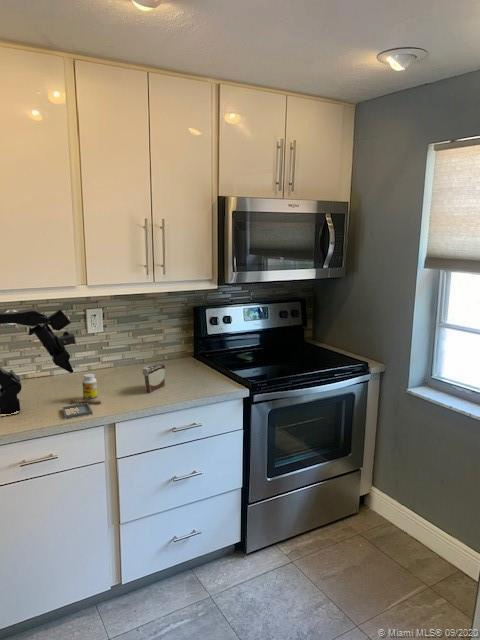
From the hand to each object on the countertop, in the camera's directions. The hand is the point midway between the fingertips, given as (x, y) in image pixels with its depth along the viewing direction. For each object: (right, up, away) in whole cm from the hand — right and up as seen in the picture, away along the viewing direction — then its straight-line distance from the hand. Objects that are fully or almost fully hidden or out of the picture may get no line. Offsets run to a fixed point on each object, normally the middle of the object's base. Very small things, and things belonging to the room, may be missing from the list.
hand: (70, 369), depth 185 cm
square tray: (+5, -16, -7) cm, 18 cm away
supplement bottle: (+6, -13, +6) cm, 16 cm away
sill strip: (+6, -14, +1) cm, 15 cm away
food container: (+29, -11, +18) cm, 36 cm away
